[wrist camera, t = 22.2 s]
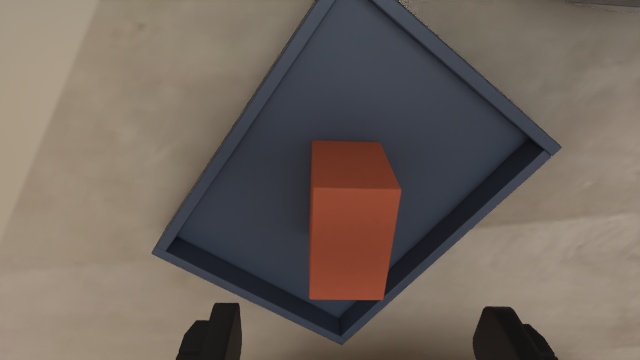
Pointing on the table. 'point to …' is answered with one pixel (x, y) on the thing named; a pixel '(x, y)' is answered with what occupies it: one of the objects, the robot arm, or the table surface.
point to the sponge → (350, 220)
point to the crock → (610, 5)
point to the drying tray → (352, 125)
